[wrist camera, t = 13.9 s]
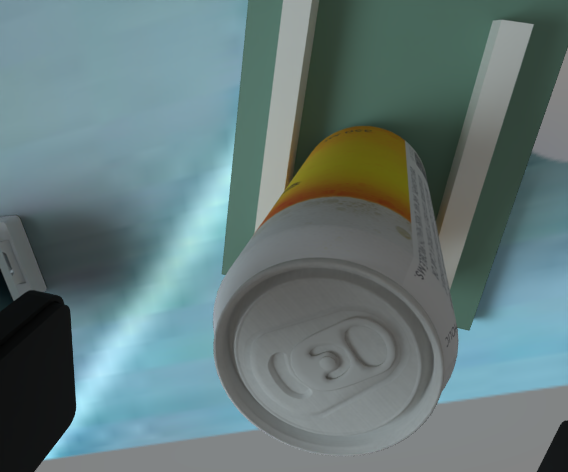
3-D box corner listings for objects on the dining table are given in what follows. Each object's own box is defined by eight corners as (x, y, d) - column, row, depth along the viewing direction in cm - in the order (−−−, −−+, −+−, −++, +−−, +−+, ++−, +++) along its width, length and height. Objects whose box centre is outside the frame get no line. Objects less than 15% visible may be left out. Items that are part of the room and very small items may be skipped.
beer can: (281, 163, 25) (148, 315, 12) (387, 97, 23) (373, 193, 10) (342, 258, 27) (286, 495, 13) (448, 205, 24) (514, 424, 11)
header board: (275, -197, 21) (220, -302, 14) (631, -165, 19) (754, -268, 12) (228, 265, 30) (180, 331, 23) (466, 318, 28) (487, 406, 21)
